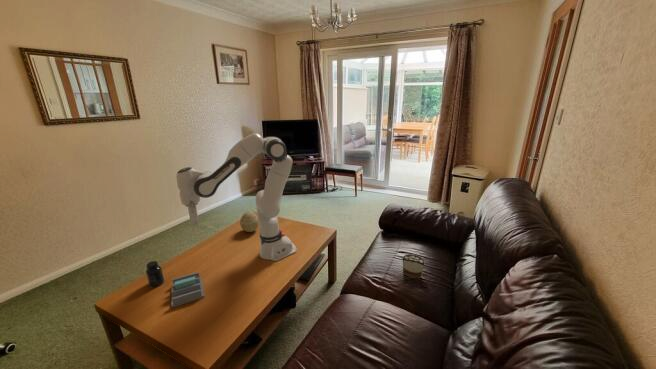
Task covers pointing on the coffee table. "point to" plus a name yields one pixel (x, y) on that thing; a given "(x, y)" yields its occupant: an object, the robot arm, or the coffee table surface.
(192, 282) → the teal upright panel
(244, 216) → the fossilized egg
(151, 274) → the supplement bottle
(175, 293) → the rack
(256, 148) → the robot arm
